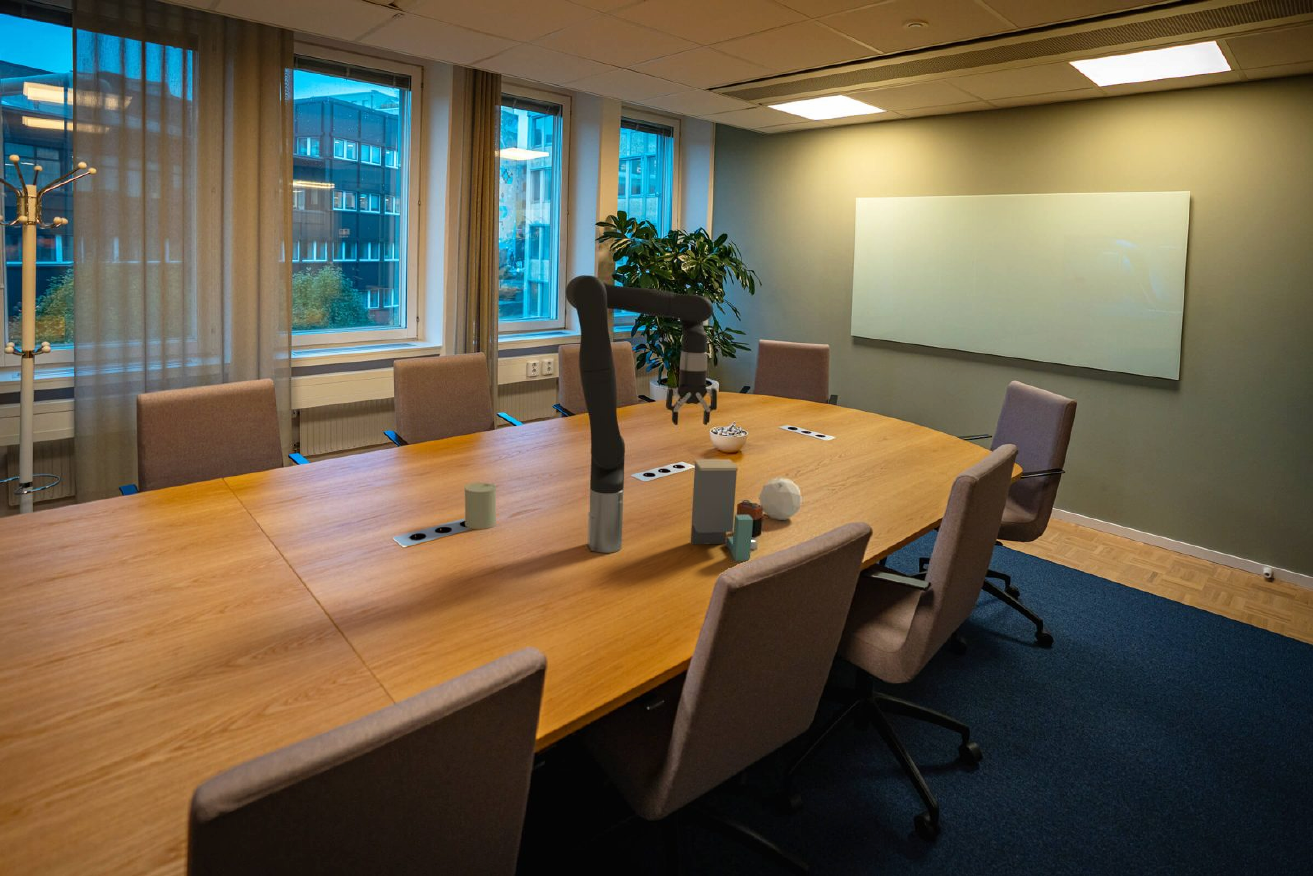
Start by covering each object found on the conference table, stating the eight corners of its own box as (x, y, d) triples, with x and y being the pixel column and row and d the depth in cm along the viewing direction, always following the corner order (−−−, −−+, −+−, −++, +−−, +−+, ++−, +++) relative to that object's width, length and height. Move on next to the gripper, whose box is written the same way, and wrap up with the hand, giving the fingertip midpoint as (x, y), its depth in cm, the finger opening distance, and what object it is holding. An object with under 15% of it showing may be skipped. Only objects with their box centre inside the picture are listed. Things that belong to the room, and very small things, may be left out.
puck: (742, 551, 228) (743, 543, 227) (737, 544, 232) (738, 536, 232) (759, 550, 228) (760, 542, 228) (754, 544, 233) (755, 536, 233)
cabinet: (696, 553, 224) (700, 467, 218) (689, 542, 232) (694, 459, 226) (732, 552, 226) (737, 467, 220) (724, 541, 234) (730, 459, 228)
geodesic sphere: (807, 512, 245) (806, 470, 250) (762, 510, 245) (761, 468, 250) (799, 526, 258) (798, 486, 263) (756, 524, 258) (756, 484, 263)
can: (502, 523, 241) (502, 485, 238) (480, 531, 234) (480, 492, 231) (480, 516, 246) (480, 479, 243) (458, 524, 238) (457, 486, 235)
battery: (743, 528, 245) (745, 497, 243) (761, 534, 241) (764, 503, 238) (734, 532, 242) (736, 500, 239) (753, 538, 238) (755, 506, 235)
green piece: (735, 561, 220) (738, 519, 217) (724, 545, 231) (727, 505, 228) (749, 560, 221) (752, 519, 218) (738, 544, 232) (741, 505, 229)
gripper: (714, 365, 229) (711, 421, 232) (665, 365, 226) (663, 421, 230) (721, 370, 221) (717, 427, 225) (670, 369, 219) (668, 427, 223)
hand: (690, 424), depth 228 cm, fingers open, 8 cm apart
